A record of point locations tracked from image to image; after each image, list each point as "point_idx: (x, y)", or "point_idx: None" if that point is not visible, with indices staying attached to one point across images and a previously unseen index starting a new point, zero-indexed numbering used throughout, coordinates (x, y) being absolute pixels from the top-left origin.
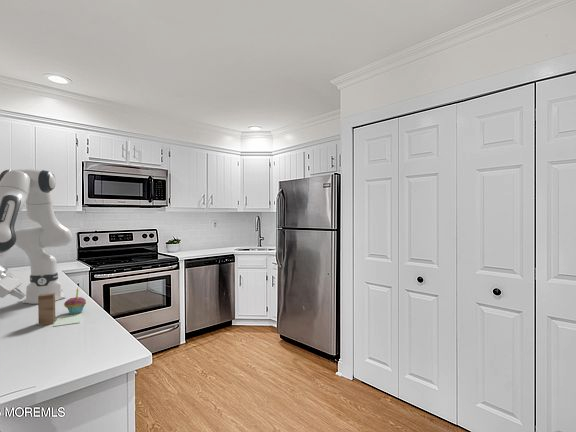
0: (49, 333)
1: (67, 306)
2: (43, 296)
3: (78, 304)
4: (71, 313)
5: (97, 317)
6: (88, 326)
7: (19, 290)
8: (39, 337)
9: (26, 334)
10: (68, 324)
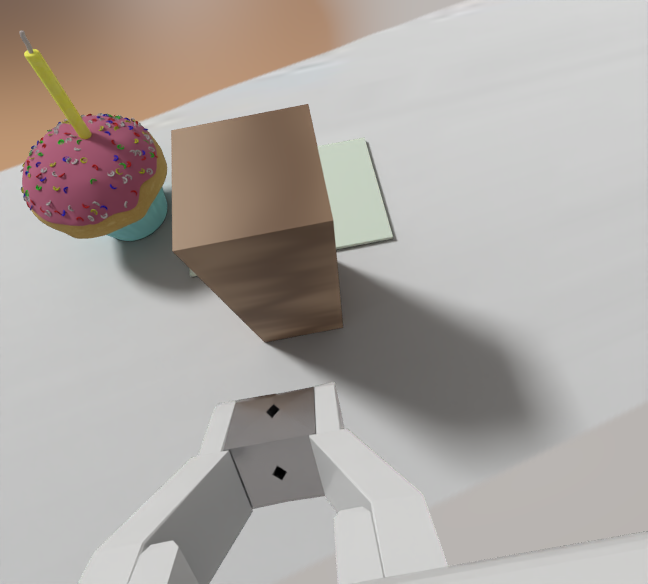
0: (515, 215)
1: (147, 204)
2: (323, 180)
3: (156, 143)
4: (159, 222)
5: (290, 96)
6: (435, 92)
7: (178, 519)
8: (579, 238)
9: (513, 328)
10: (375, 178)
